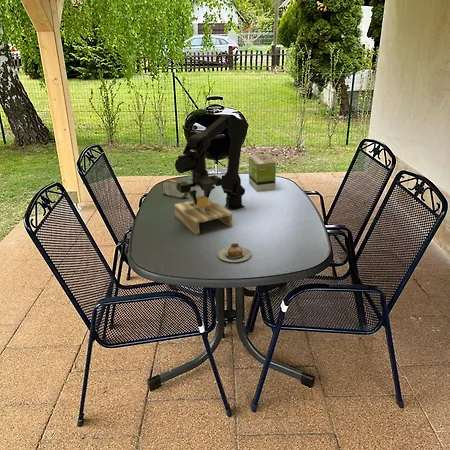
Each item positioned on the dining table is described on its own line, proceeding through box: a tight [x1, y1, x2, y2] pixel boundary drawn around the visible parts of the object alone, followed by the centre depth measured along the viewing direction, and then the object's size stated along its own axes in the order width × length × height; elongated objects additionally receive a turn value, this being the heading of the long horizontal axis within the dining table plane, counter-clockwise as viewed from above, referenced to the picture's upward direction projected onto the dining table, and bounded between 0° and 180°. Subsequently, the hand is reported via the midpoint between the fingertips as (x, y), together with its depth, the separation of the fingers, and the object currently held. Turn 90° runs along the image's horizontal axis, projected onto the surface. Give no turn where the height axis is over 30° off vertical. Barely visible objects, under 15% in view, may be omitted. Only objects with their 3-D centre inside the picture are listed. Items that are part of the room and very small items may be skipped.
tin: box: [161, 178, 189, 199], centre depth 212 cm, size 15×3×8 cm, turn 58°
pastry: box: [217, 242, 252, 264], centre depth 154 cm, size 12×12×5 cm
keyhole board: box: [174, 197, 233, 236], centre depth 182 cm, size 16×22×6 cm
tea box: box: [248, 154, 277, 193], centre depth 221 cm, size 15×10×15 cm
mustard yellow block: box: [193, 194, 208, 213], centre depth 182 cm, size 4×4×8 cm
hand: (200, 203), depth 181 cm, fingers closed on mustard yellow block, 4 cm apart
